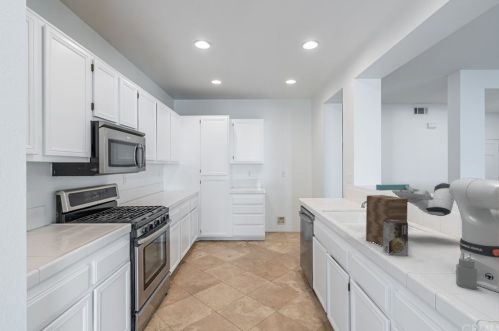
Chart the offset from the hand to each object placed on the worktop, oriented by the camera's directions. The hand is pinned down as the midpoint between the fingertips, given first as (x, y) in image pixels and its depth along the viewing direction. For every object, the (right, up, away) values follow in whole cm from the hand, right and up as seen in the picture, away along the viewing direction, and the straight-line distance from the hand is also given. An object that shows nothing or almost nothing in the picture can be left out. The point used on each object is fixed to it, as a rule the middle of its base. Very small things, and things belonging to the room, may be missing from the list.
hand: (401, 186), depth 140 cm
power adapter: (-8, -32, -51) cm, 61 cm away
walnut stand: (-11, -32, -4) cm, 34 cm away
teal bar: (-6, -2, -2) cm, 7 cm away
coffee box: (-15, -32, -18) cm, 40 cm away
